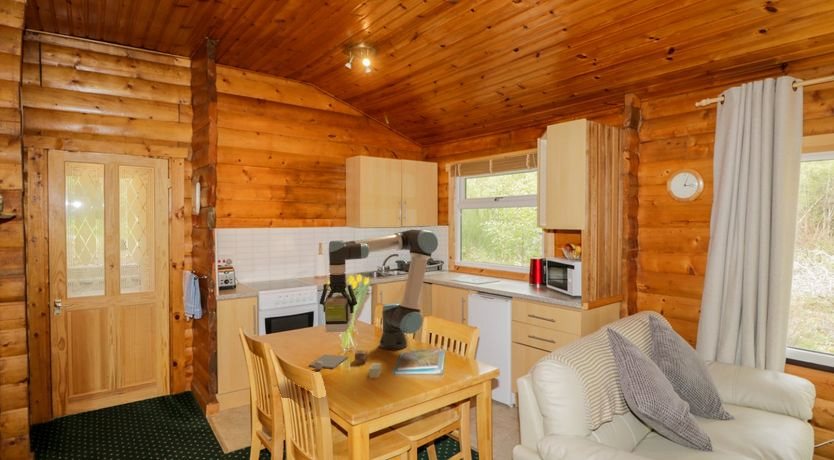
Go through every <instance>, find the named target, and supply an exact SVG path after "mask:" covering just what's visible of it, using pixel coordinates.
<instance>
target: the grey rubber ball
mask: <svg viewBox="0 0 834 460" xmlns="http://www.w3.org/2000/svg"><path fill="white" fill-rule="evenodd" d="M322 367H323V363H322V362H321V361H316V362H315V364H314V367H313V368H314V369H315V370H321V369H323V368H322Z"/></svg>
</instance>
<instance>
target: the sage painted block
mask: <svg viewBox="0 0 834 460" xmlns="http://www.w3.org/2000/svg"><path fill="white" fill-rule="evenodd" d="M368 371H369V372H368V373H369V378H375V379H376V378H377V379H378V378H379V377H380V375H381V373H382V363H381V362H372V363H371V365H370V367H369V370H368Z"/></svg>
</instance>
